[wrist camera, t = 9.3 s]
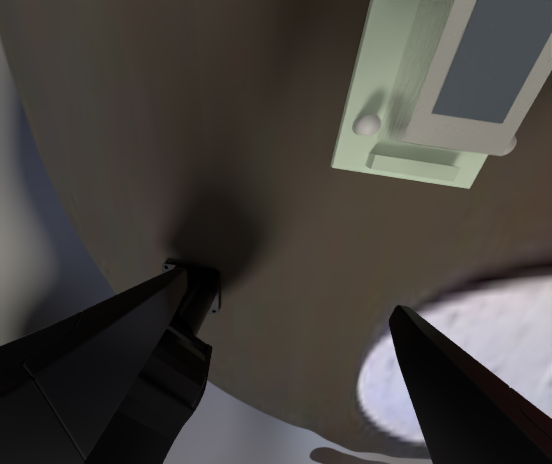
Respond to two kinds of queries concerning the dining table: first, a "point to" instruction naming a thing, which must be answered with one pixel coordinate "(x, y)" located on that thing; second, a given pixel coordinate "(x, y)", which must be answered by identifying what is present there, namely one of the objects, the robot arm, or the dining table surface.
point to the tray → (372, 103)
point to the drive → (469, 74)
